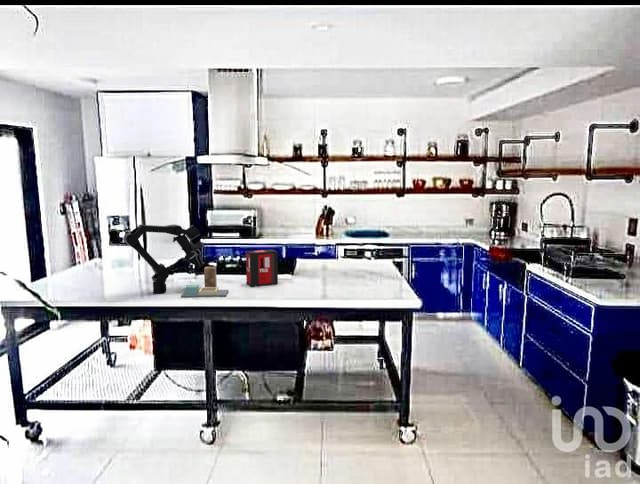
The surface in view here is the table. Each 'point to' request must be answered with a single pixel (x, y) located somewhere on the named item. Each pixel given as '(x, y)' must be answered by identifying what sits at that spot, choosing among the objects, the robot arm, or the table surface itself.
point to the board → (203, 292)
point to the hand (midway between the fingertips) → (201, 266)
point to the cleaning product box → (261, 268)
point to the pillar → (210, 277)
